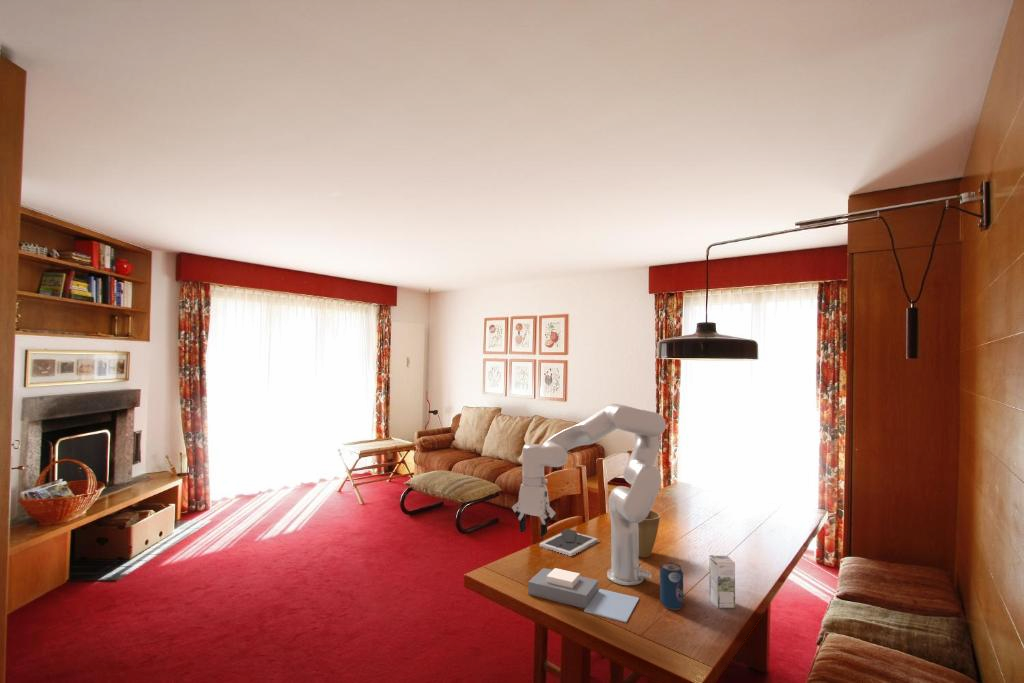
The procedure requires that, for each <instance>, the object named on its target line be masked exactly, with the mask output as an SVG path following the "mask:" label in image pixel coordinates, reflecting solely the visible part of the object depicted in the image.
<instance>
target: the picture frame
mask: <svg viewBox="0 0 1024 683" xmlns="http://www.w3.org/2000/svg"><path fill="white" fill-rule="evenodd" d="M598 542H599V538H596V537H594V536H590V535H587V534H582V533H579V532H577V531H576V530H573V529H569V528H565V529H563V530H561V531H560V533H558V534H556V535H554V536H552V537H550V538H548V539H546V540H544V541H542V542H540V543H539V544H538V547H539V546H540V547H539V548H541V547H543V548H542V549H544V548H546V549H545V550H548V549H550V550H549V551H551V550H553V551H552V552H554V551H556V552H555V553H557V552H559V553H558V554H560V553H562V554H561V555H564V554H565V555H564V556H567V555H568V556H567V557H570V556H572V557H574V556H575V555H577V554H579V553H580V552H582V550H583V551H585V550H586V549H588V548H590V547H591V546H594V545H596V544H597V543H598ZM589 546H590V547H589ZM578 552H579V553H578ZM576 553H577V554H576ZM573 555H574V556H573Z"/></svg>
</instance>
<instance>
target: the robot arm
mask: <svg viewBox="0 0 1024 683" xmlns="http://www.w3.org/2000/svg"><path fill="white" fill-rule="evenodd" d="M666 424H667V423H666V420H665V418H664V417H663V416H662V414H660V413H658V412H655V411H651V410H650V411H649V410H646V409H639V408H635V407H632V406H628V405H623V404H620V403H611V404H608V405H607V406H604V407H603V408H602V409H600V410H598V411H597V412H595V413H594V414H592V415H591V416H589V417H587V418H586V419H584V420H583V421H581V422H578V423H577V424H575V425H572V426H570V427H568V428H565V429H563V430H562V431H560V432H558V433H556V434H554V435H553V436H551V437H550V438H548V439H546V440H545V441H544V442H543V443H542V444H537V443H528V444H525V445H523V446H522V450H521V451H522V454H521V456H522V457H521V458H522V459H521V460H522V462H521V463H522V464H521V465H522V467H521V468H522V481H521V482H522V483H521V484H520V487H519V492H518V501H517V502H516V503H514V504H513V505H512V506H511V509H512V510H513V512H514V514H515V515H516V517H517V519H518V521H519V532H520V533H521V534H522V533H524V532H526V531H527V518H526V516H527V515H529V516H534V517H539V519H540V522H541V524H540V536H541V537H542V538H543V537H544V536H546V535H547V534H548V523H549V522H550V521H551V520H552V519H553V518H554V517H555V515H556V511H554V509H553V508H552V507H551V505H550V500H549V491H548V486H547V484H548V481H549V480H548V479H547V478H545V477H546V476H545V467H551V468H560V467H562V466H563V467H564V465H565V464H566V463H567V462H568V460H569V454H568V451H570V450H572V449H575V448H577V447H581V446H587V445H588V446H589V445H593V444H595V443H597V442H598V441H601V439H603V438H604V437H606V436H608V435H609V434H611V433H612V432H614V431H616V430H617V429H618V430H620V431H624V432H628V433H631V434H634V435H635V436H634V437H635V441H634V442H635V443H634V446H633V449H632V451H631V453H630V456H629V457H628V460H627V462H626V464H625V467H624V469H623V478H624V480H625V482H627V483H628V484H630V488H629V487H628V486H624V485H618V486H615V487H614V488H613V489H612V490H611V491H610V493H609V496H608V509H609V515H610V556H611V557H610V558H611V559H610V560H611V567H610V568H609V569H608V570H607V572H606V577H607V579H608V580H609V581H611V582H612V583H615V584H618V585H621V586H636V585H639V584H642V583H643V581H644V579H646V580H651V579H652V573H651V572H650V570H647V569H643V568H642V564H640V562H639V560H640V557H639V540H638V534H639V533H638V523H639V522H642V521H643V520H644V519H645V518H646V517H647V516H648V514H649V512H650V510H651V509H652V508H653V505H654V503H655V500H656V498H657V496H658V493H659V491H660V488H661V486H662V485H661V484H662V475H661V472H660V471H659V469H658V468H657V467H656V466H655V465H654V464H656V463H655V462H656V459H657V456H658V454H659V450H660V439H659V437H660V436H661V435H662V434H664V432H665V430H666V426H667V425H666ZM651 511H652V510H651ZM547 514H548V516H547Z"/></svg>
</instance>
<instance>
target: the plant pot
mask: <svg viewBox="0 0 1024 683" xmlns="http://www.w3.org/2000/svg"><path fill="white" fill-rule="evenodd" d="M660 519H661V515H660V514H659V513H658V512H656V511H654V510H650V512H649V514H648V516H647V517H646V518H645V519H644V520H643V521H642V522H639V523H638V533H639V534H638V540H639V558H644V559H645V558H649V557H651V554H652V552H653V549H654V545H655V543H656V538H657V536H658V530H659V524H660Z"/></svg>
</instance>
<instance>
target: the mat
mask: <svg viewBox="0 0 1024 683" xmlns="http://www.w3.org/2000/svg"><path fill="white" fill-rule="evenodd" d="M639 600H640V597H637V596H633V595H628V594H624V593H620V592H615V591H611V590H607V589H602V588H599V589H598V592H597V594H596V595H595V596H594V598H593V599H592V600H591V602H590V603H589V604H588V606H587V607H586V608H585V609H584V610H583V612H584V613H587V614H590V615H594V616H597V617H602V618H606V619H610V620H614V621H617V622H622V623H625V624H626V623H628V620H629V619H630V617H631V615H632V614H633V612H634V609H635V607H636V606H637V604H638V602H639Z"/></svg>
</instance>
